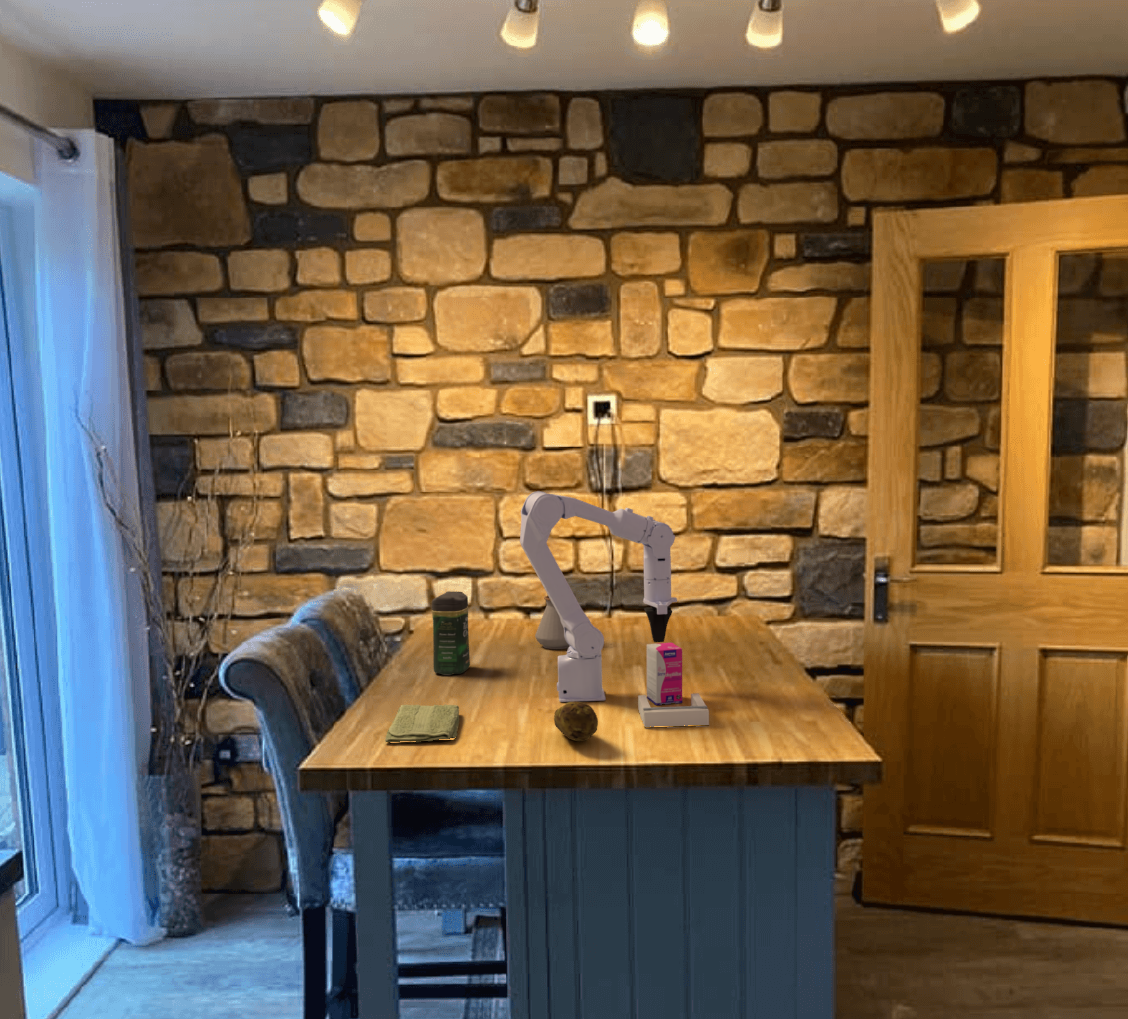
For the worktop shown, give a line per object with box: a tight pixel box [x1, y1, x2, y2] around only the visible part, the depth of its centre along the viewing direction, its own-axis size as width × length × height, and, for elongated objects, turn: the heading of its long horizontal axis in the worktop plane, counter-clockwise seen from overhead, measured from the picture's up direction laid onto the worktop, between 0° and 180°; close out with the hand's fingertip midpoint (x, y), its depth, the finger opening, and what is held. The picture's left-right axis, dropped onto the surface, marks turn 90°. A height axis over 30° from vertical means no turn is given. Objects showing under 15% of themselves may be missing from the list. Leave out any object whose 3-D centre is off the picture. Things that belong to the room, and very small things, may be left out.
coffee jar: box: [431, 591, 471, 676], centre depth 219 cm, size 10×8×19 cm
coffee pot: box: [534, 595, 570, 650], centre depth 246 cm, size 21×12×15 cm, turn 3°
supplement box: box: [646, 642, 683, 706], centre depth 190 cm, size 6×6×12 cm
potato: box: [553, 701, 599, 742], centre depth 167 cm, size 8×13×8 cm, turn 176°
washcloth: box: [384, 704, 460, 743], centre depth 177 cm, size 13×18×3 cm
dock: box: [637, 692, 710, 727], centre depth 179 cm, size 12×11×3 cm
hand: (658, 641), depth 198 cm, fingers closed
